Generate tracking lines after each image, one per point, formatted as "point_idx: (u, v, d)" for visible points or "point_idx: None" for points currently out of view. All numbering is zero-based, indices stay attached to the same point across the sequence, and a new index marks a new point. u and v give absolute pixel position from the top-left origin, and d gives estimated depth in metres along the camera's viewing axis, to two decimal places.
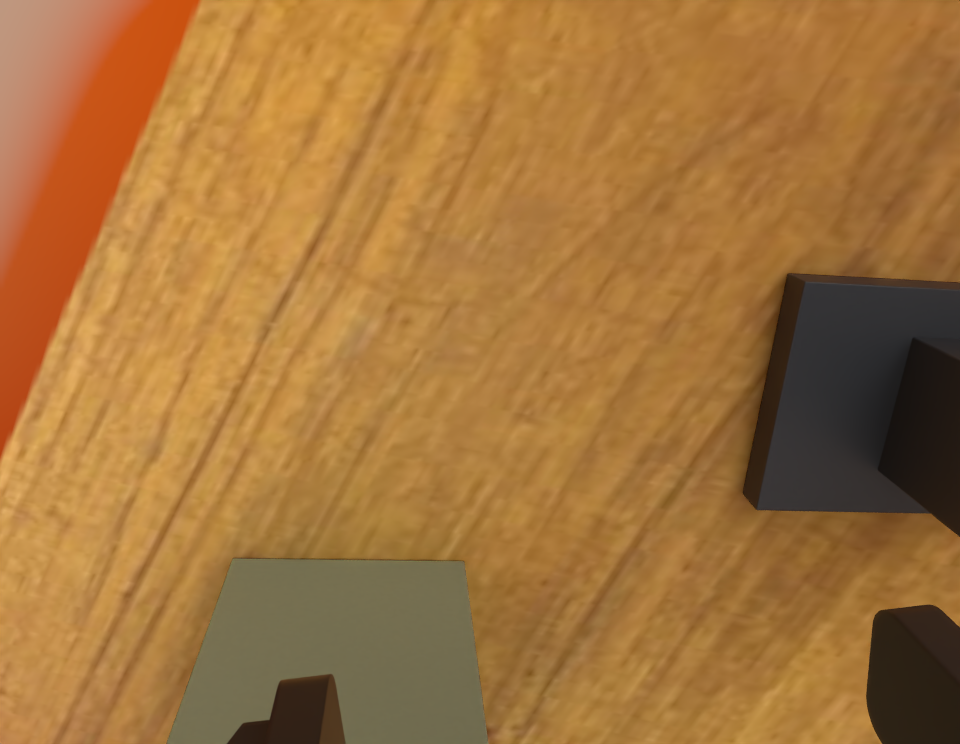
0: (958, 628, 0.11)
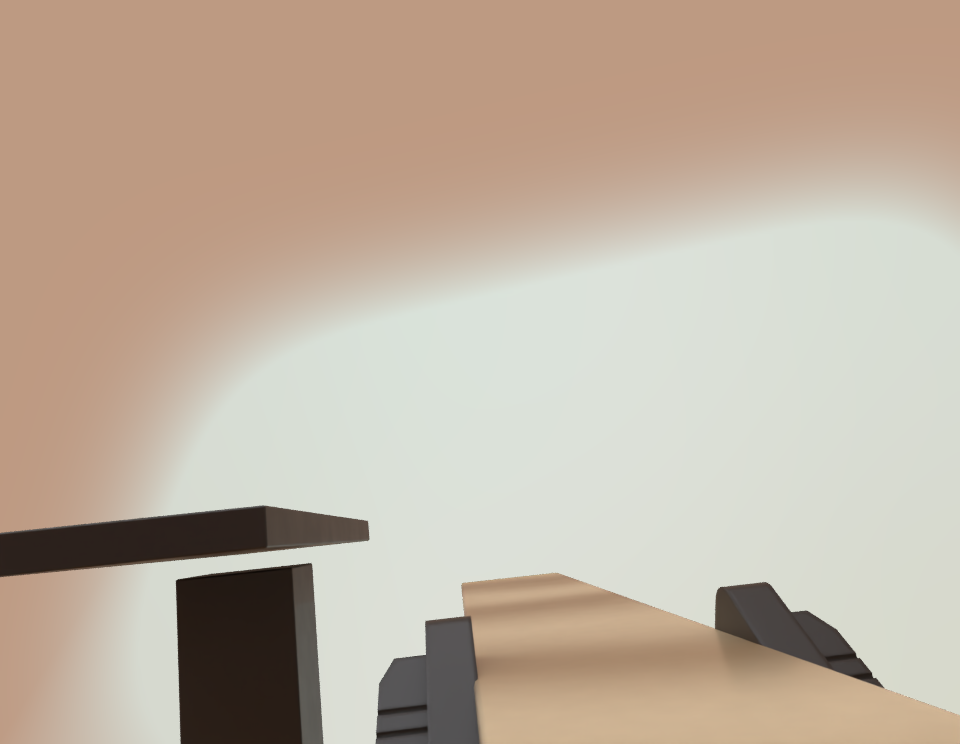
0: (781, 603, 0.12)
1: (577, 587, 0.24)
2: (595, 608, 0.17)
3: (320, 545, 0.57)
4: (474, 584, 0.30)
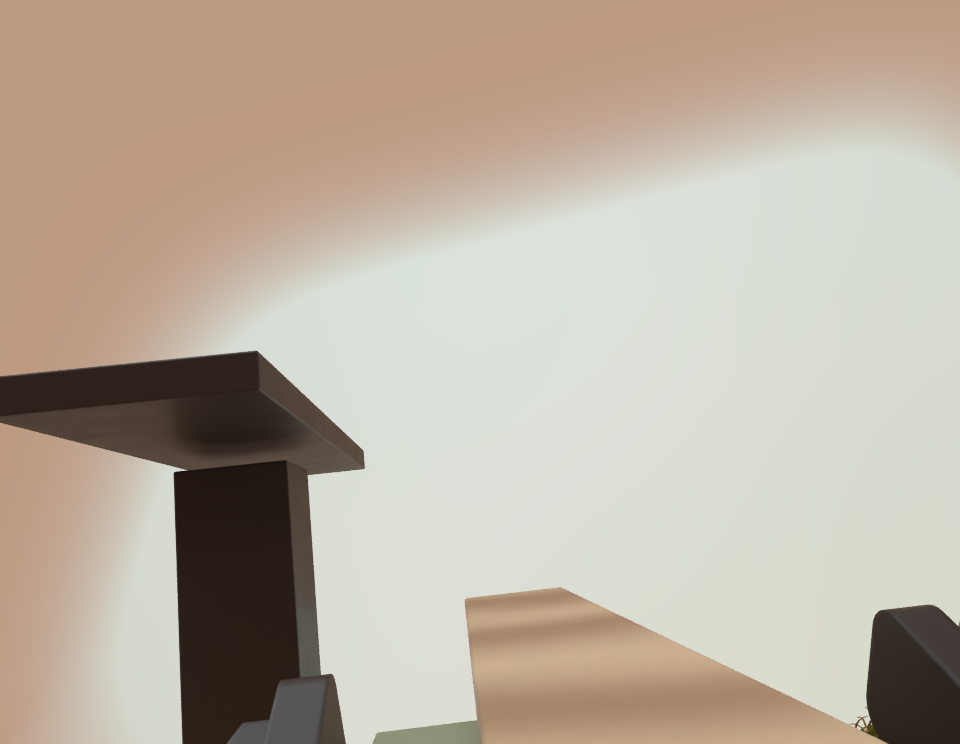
0: (958, 628, 0.11)
1: (582, 607, 0.24)
2: (601, 635, 0.17)
3: (316, 468, 0.58)
4: (477, 600, 0.30)
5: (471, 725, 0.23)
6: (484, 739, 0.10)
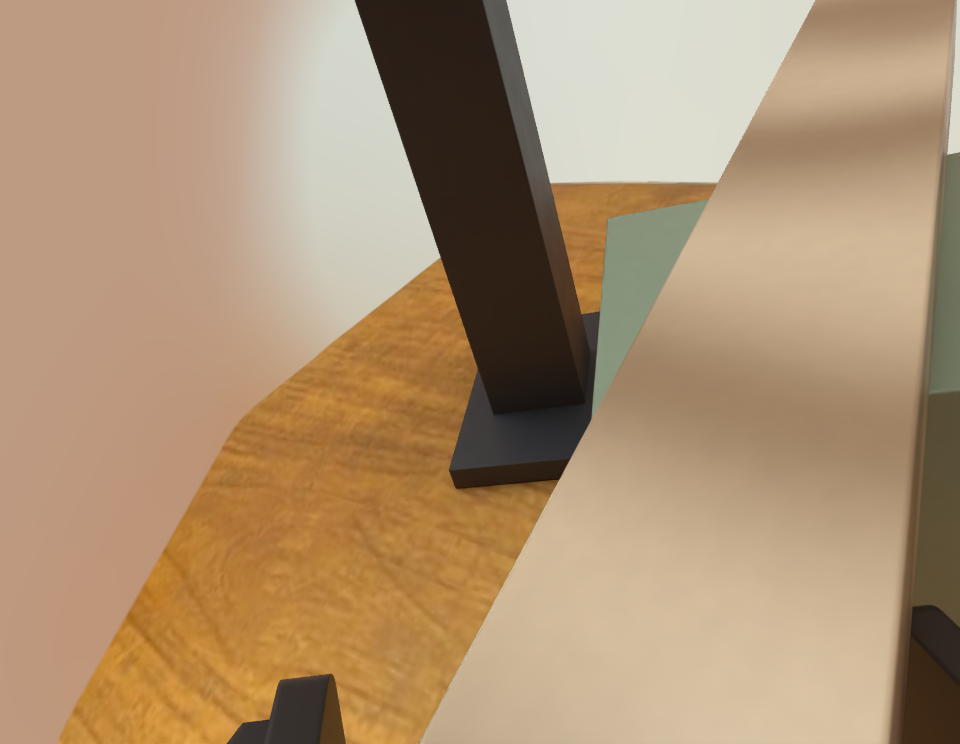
0: (958, 628, 0.11)
1: (922, 63, 0.19)
2: (868, 181, 0.15)
3: None
4: (827, 5, 0.25)
5: None
6: (582, 440, 0.11)
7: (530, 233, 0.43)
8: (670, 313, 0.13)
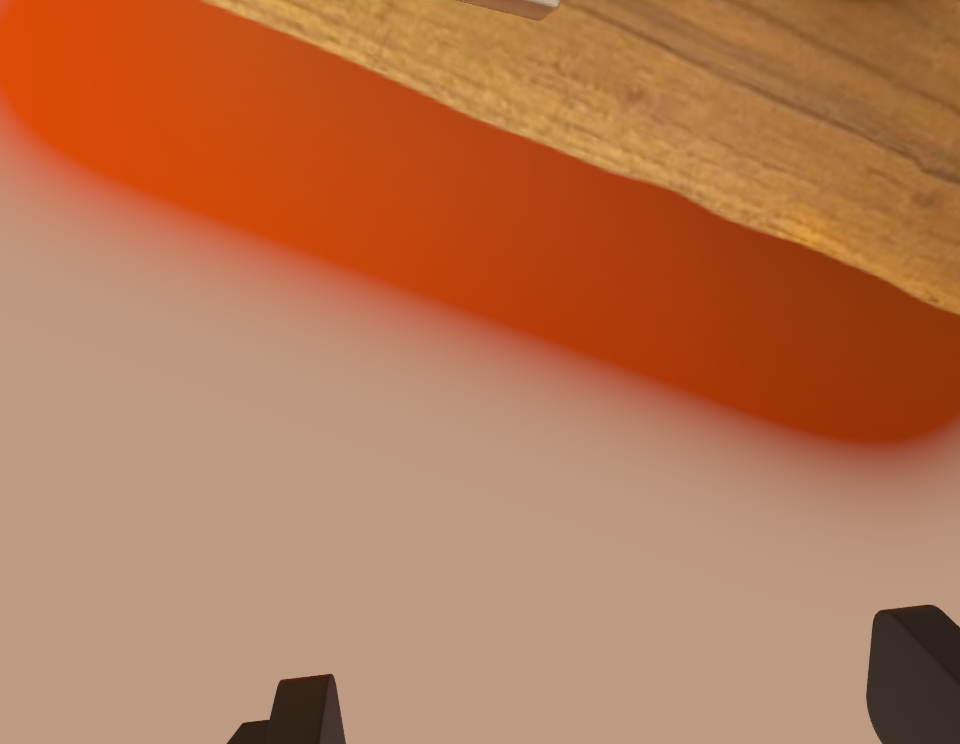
0: (958, 628, 0.11)
1: None
2: None
3: None
4: None
5: None
6: None
7: None
8: None
